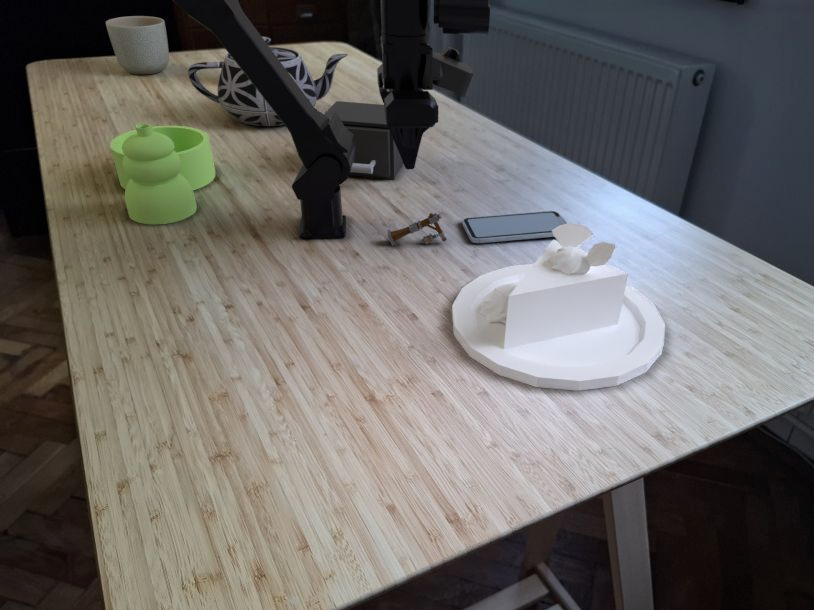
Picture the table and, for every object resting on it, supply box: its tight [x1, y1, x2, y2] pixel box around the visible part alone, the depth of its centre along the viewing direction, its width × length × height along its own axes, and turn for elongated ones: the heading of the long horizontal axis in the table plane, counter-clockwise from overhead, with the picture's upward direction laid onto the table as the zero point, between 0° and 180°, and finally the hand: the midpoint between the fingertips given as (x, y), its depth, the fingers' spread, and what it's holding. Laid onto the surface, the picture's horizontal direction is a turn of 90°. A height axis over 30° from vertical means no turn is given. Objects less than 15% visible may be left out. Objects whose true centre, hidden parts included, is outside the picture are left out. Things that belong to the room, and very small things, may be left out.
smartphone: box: [461, 210, 568, 244], centre depth 101 cm, size 7×1×15 cm
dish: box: [451, 222, 666, 392], centre depth 78 cm, size 25×25×11 cm
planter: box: [105, 15, 170, 76], centre depth 160 cm, size 12×12×11 cm
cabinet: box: [323, 100, 404, 180], centre depth 117 cm, size 10×12×9 cm
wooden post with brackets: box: [386, 212, 447, 247], centre depth 96 cm, size 2×8×4 cm, turn 94°
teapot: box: [187, 36, 350, 127], centre depth 135 cm, size 19×31×15 cm, turn 104°
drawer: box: [343, 124, 391, 177], centre depth 114 cm, size 13×11×8 cm
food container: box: [109, 123, 216, 226], centre depth 104 cm, size 25×14×13 cm, turn 16°
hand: (406, 156), depth 93 cm, fingers open, 9 cm apart
